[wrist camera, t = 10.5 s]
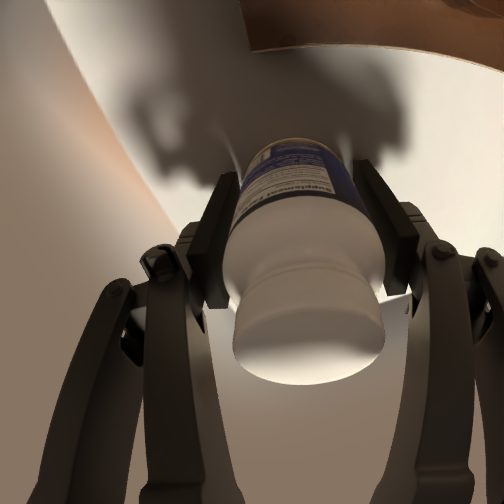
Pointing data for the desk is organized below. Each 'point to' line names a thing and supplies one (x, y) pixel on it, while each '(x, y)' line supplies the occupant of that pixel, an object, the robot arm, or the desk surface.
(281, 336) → the pill bottle
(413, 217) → the robot arm
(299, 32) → the wooden button base
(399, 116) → the desk surface
